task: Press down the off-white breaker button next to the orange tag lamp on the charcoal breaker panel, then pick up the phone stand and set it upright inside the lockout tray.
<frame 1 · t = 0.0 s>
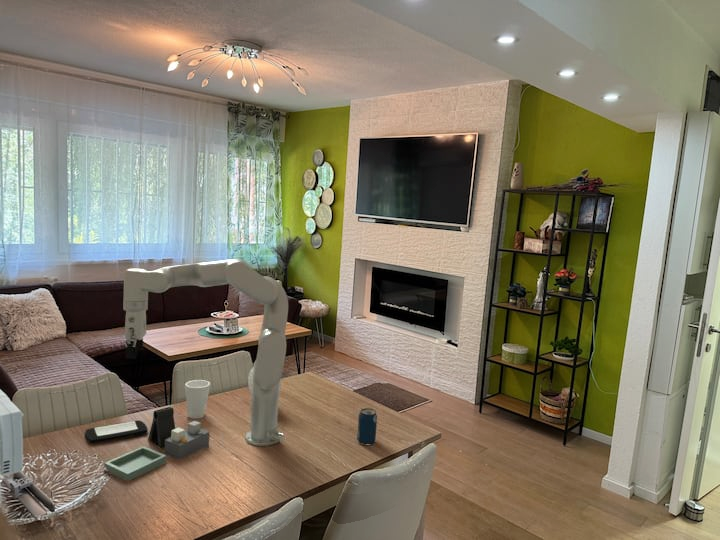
hand: (134, 354, 166), 31 cm above the table, tool pointing down, fingers open, 9 cm apart
phone stand: (162, 442, 171), on the table
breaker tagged: (178, 435, 163), point 6 cm above the table, slide at 0.0 cm
breaker panel: (187, 449, 167), on the table
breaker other: (194, 428, 170), point 6 cm above the table, slide at 0.0 cm
foam cup: (196, 415, 195), on the table
decorative heart: (262, 407, 208), on the table
lockout tray: (135, 466, 154), on the table
light switch: (116, 434, 175), on the table
soda can: (365, 442, 183), on the table
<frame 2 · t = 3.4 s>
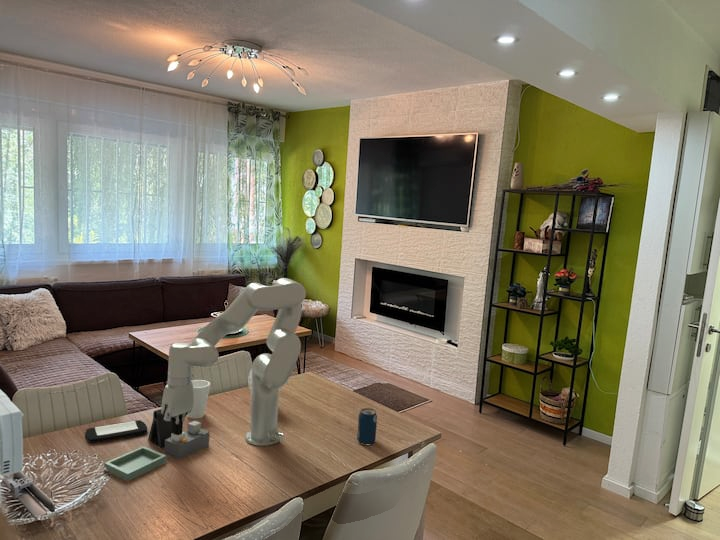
hand: (177, 433, 163), 7 cm above the table, tool pointing down, fingers closed
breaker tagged: (177, 438, 164), point 5 cm above the table, slide at 1.1 cm, touching gripper
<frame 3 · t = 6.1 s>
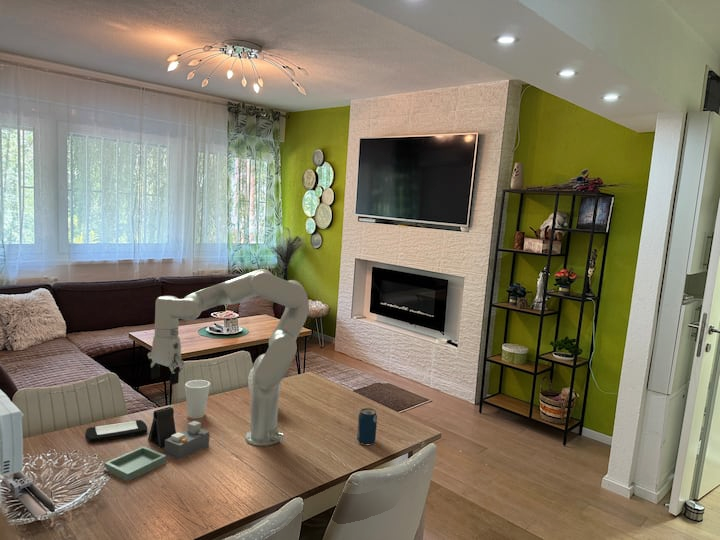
hand: (164, 380, 169), 22 cm above the table, tool pointing down, fingers open, 8 cm apart
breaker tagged: (177, 439, 164), point 5 cm above the table, slide at 1.7 cm
everything else where it was.
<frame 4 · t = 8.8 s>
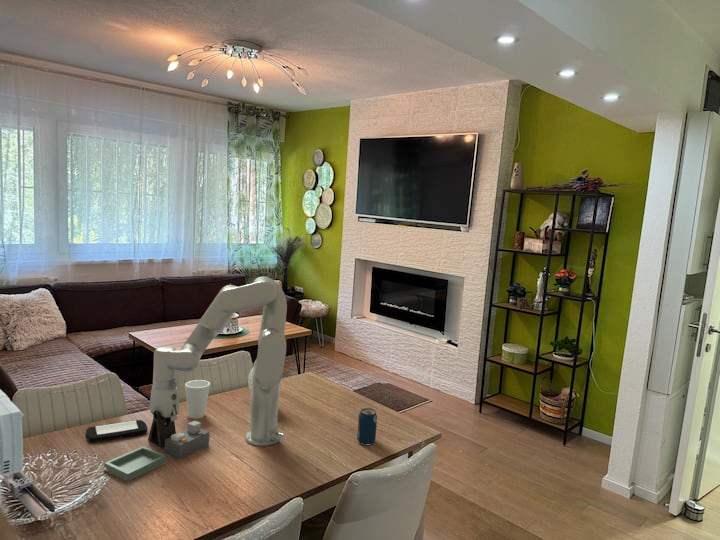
hand: (162, 433, 171), 3 cm above the table, tool pointing down, fingers closed on phone stand, 2 cm apart
phone stand: (162, 442, 171), on the table, touching gripper
everything else where it was.
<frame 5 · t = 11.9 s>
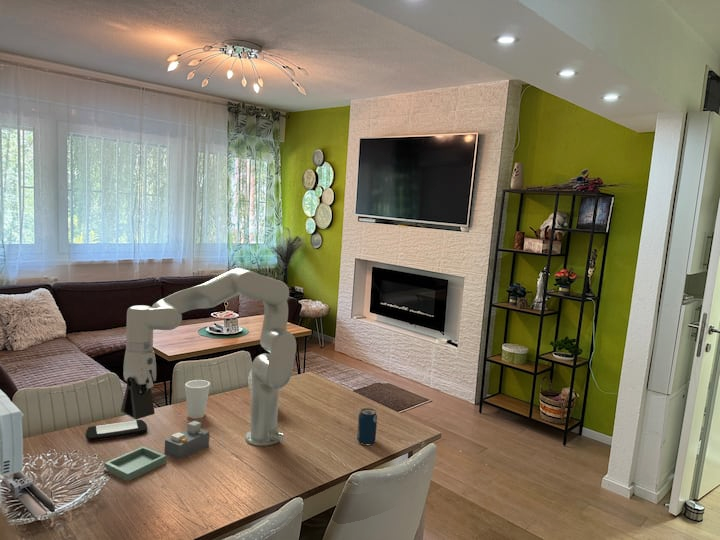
hand: (138, 402, 152), 21 cm above the table, tool pointing down, fingers closed on phone stand
phone stand: (137, 413, 152), point 17 cm above the table, touching gripper
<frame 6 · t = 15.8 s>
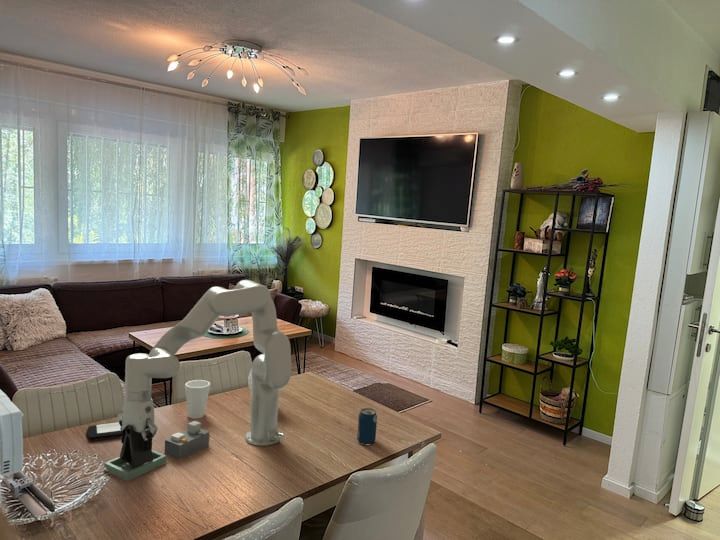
hand: (136, 446, 153), 7 cm above the table, tool pointing down, fingers open, 9 cm apart
phone stand: (136, 459, 154), point 2 cm above the table, touching lockout tray
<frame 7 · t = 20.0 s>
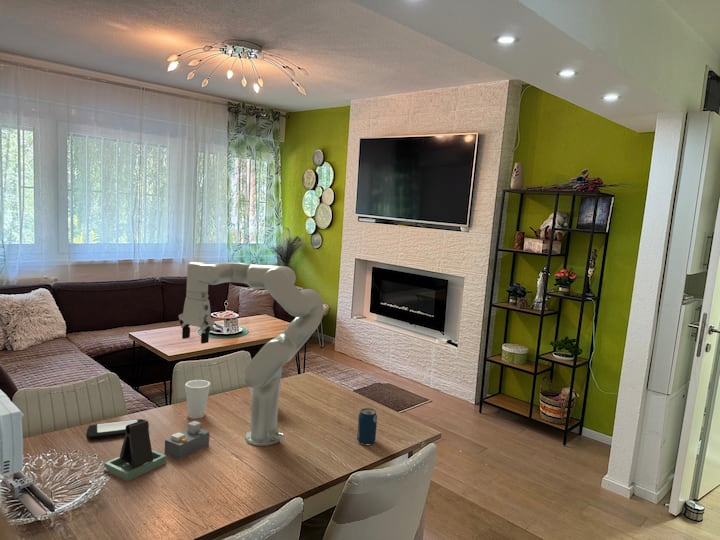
hand: (195, 340, 182), 33 cm above the table, tool pointing down, fingers open, 9 cm apart
at the end: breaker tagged slide at 1.7 cm; phone stand 0.0 cm off-centre on the lockout tray, point 2.2 cm above the lockout tray's base; phone stand tilted 0° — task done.
